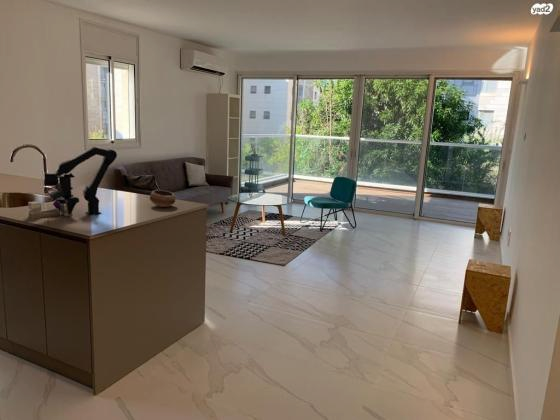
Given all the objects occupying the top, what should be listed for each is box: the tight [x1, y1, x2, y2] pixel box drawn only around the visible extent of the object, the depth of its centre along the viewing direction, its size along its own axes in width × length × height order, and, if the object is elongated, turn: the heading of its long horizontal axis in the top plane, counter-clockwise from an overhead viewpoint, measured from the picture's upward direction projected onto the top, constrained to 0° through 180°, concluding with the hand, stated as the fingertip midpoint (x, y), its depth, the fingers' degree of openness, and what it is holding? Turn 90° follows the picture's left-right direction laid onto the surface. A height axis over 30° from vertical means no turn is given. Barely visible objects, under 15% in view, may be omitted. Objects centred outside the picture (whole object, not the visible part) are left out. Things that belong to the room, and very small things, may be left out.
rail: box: [27, 201, 61, 220], centre depth 239 cm, size 6×14×8 cm, turn 140°
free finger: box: [59, 204, 73, 217], centre depth 245 cm, size 5×4×6 cm
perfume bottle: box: [52, 179, 60, 210], centre depth 258 cm, size 8×8×18 cm
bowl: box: [149, 189, 176, 208], centre depth 280 cm, size 16×16×10 cm
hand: (66, 213), depth 245 cm, fingers open, 7 cm apart
